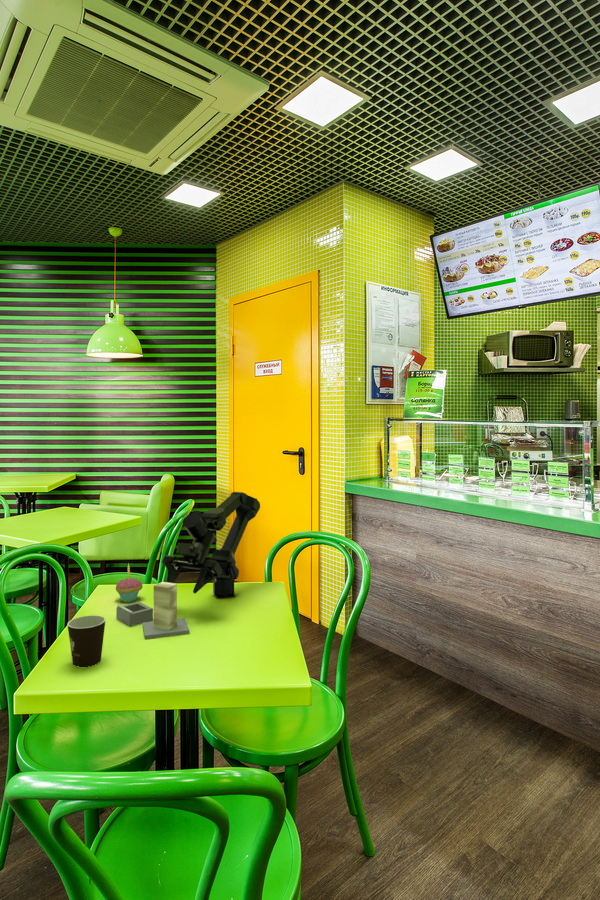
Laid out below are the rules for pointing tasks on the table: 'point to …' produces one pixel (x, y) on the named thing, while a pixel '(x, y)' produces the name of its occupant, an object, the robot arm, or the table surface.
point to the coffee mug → (86, 639)
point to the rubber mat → (156, 632)
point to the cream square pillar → (165, 605)
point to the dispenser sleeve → (134, 613)
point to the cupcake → (128, 588)
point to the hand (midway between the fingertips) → (180, 590)
